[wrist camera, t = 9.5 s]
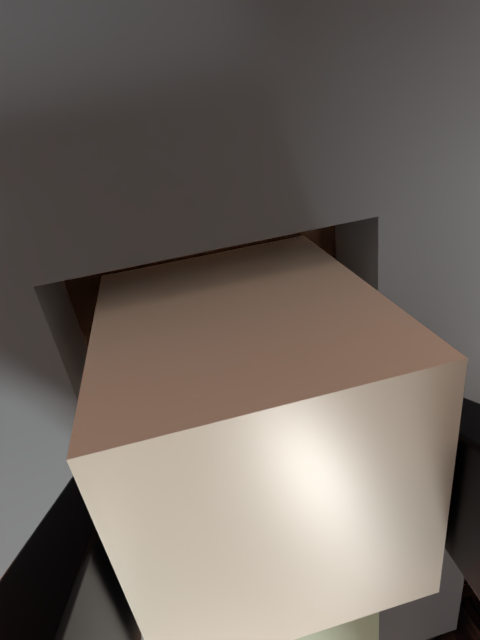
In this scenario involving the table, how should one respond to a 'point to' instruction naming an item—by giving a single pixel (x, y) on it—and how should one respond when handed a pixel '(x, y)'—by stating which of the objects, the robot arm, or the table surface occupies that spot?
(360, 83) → the board
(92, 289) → the table surface
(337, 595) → the block
